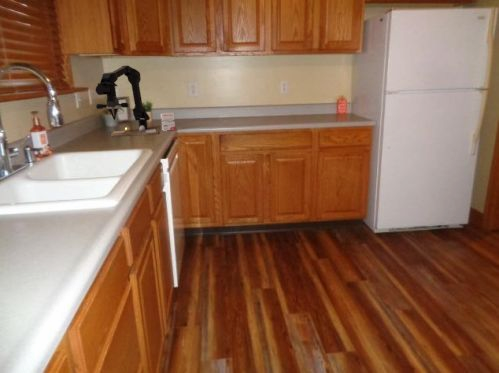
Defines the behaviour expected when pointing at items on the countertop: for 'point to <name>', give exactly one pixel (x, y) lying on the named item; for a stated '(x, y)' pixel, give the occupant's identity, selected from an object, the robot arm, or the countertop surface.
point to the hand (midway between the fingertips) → (114, 119)
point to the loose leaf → (124, 130)
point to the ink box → (167, 121)
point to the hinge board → (136, 132)
